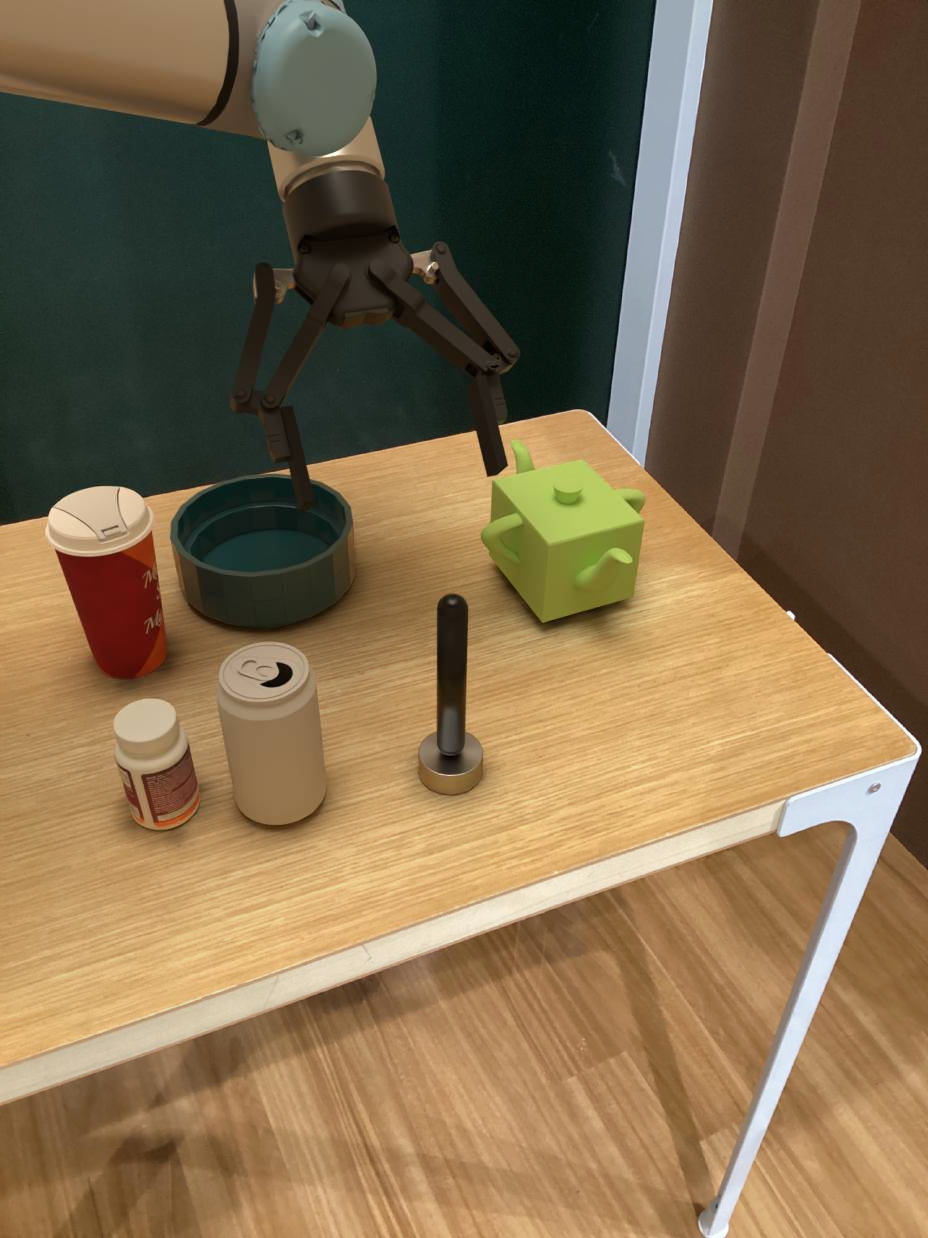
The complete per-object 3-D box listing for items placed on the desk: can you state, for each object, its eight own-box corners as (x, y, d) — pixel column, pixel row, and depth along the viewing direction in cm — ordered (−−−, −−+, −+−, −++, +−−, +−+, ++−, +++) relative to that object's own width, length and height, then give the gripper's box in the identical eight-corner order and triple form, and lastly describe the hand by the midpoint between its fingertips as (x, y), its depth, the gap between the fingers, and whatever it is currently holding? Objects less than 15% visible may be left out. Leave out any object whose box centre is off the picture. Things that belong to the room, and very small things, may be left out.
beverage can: (301, 843, 72) (286, 715, 64) (217, 816, 73) (192, 689, 66) (342, 776, 76) (332, 650, 69) (262, 752, 78) (244, 627, 70)
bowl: (178, 642, 87) (167, 584, 83) (183, 536, 99) (173, 480, 95) (364, 623, 89) (361, 566, 86) (347, 522, 101) (344, 467, 97)
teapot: (618, 655, 87) (633, 549, 80) (461, 623, 90) (462, 518, 83) (648, 550, 98) (663, 450, 91) (507, 525, 101) (512, 425, 94)
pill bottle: (211, 784, 76) (193, 698, 70) (185, 837, 72) (165, 750, 67) (147, 774, 76) (125, 689, 71) (119, 826, 72) (94, 740, 67)
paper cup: (196, 665, 85) (168, 518, 76) (102, 701, 82) (61, 553, 73) (158, 613, 90) (128, 470, 81) (68, 645, 87) (26, 500, 78)
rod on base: (423, 798, 75) (421, 623, 65) (414, 751, 78) (411, 577, 68) (487, 790, 76) (496, 616, 65) (476, 744, 79) (482, 571, 69)
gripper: (487, 201, 81) (553, 471, 80) (151, 237, 74) (219, 533, 73) (517, 147, 74) (590, 443, 73) (148, 182, 67) (223, 509, 66)
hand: (404, 489), depth 73 cm, fingers open, 13 cm apart
